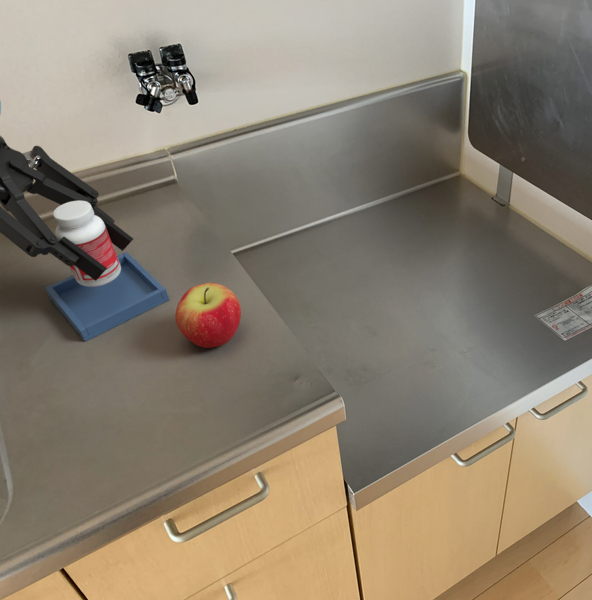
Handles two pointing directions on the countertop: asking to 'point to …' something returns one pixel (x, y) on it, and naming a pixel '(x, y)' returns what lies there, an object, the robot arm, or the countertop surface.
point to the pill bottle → (87, 240)
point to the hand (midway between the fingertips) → (115, 259)
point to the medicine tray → (107, 299)
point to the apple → (208, 315)
